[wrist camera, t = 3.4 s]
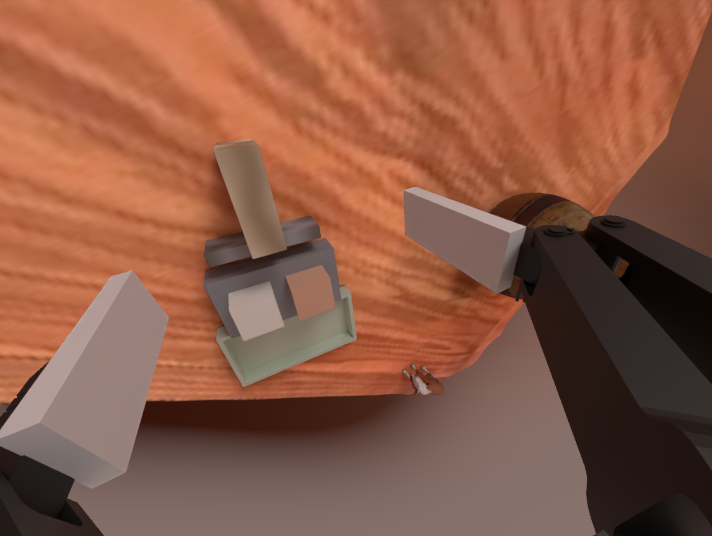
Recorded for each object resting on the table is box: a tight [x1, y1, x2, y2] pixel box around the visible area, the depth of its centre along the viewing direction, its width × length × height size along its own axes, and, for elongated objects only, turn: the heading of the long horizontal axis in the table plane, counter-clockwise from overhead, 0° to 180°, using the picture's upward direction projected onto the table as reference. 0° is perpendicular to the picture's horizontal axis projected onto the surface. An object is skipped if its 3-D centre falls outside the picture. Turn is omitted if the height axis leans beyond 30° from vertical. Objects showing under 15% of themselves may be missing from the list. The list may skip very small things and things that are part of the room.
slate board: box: [204, 239, 341, 339], centre depth 35 cm, size 16×9×4 cm, turn 95°
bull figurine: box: [402, 364, 444, 395], centre depth 62 cm, size 4×13×8 cm, turn 46°
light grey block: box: [228, 281, 284, 341], centre depth 32 cm, size 5×5×4 cm
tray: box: [216, 285, 357, 387], centre depth 41 cm, size 20×11×2 cm, turn 95°
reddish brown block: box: [285, 265, 336, 320], centre depth 34 cm, size 5×5×4 cm
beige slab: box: [204, 138, 321, 267], centre depth 27 cm, size 13×12×8 cm
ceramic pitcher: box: [490, 193, 629, 299], centre depth 42 cm, size 20×20×30 cm
